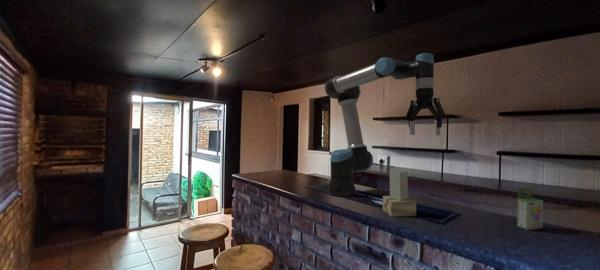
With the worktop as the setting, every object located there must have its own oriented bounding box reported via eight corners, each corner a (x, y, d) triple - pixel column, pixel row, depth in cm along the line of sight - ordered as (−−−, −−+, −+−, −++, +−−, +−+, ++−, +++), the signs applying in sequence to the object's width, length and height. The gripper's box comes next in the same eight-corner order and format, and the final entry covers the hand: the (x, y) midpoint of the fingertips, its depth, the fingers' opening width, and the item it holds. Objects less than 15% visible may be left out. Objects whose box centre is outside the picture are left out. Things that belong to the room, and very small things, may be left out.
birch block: (382, 210, 124) (382, 196, 124) (405, 209, 124) (405, 195, 124) (391, 216, 114) (391, 201, 114) (416, 216, 114) (416, 201, 114)
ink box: (528, 230, 98) (528, 191, 97) (516, 226, 101) (517, 188, 101) (543, 228, 100) (543, 190, 99) (531, 225, 103) (531, 187, 103)
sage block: (389, 198, 119) (389, 171, 120) (397, 196, 122) (397, 170, 122) (400, 200, 115) (399, 172, 115) (407, 198, 118) (407, 171, 118)
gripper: (455, 85, 122) (455, 135, 123) (408, 92, 144) (408, 134, 145) (443, 83, 119) (443, 135, 119) (397, 91, 141) (397, 134, 141)
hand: (424, 135), depth 132 cm, fingers open, 13 cm apart
